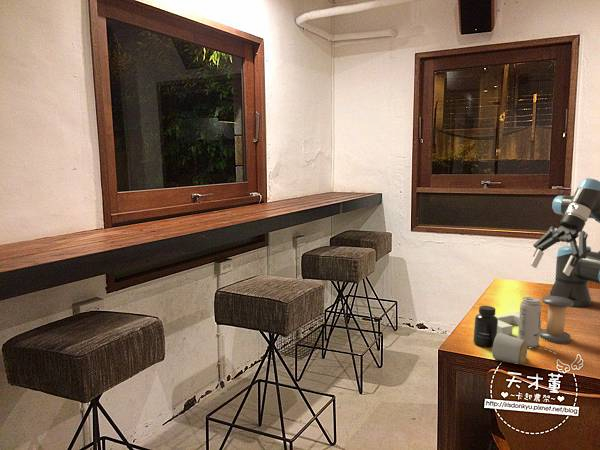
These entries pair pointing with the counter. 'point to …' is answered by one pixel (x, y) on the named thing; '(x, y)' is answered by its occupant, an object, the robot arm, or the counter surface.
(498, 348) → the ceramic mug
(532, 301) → the energy drink can
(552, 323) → the bobbin
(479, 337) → the supplement bottle
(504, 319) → the notched board
